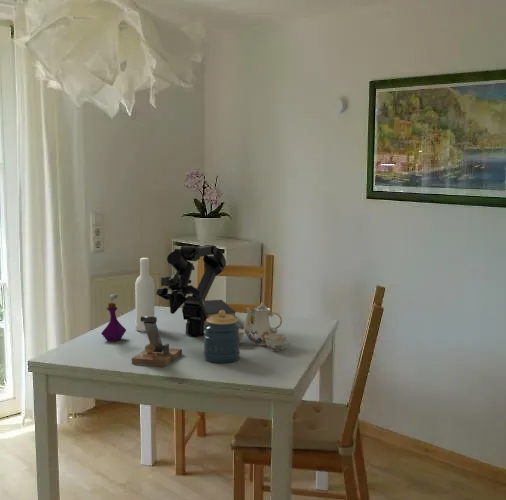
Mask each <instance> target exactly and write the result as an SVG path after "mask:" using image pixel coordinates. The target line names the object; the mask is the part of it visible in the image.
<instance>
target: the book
mask: <svg viewBox="0 0 506 500" xmlns="http://www.w3.org/2000/svg"><path fill="white" fill-rule="evenodd" d="M204 305H205V310H206V312H207V314H208V318H209V317H210V316H211V315H215V314H218V313H219V311H220V310H224V311H225V312H226V314H229V315H233V316H234V317H235V318H236V311H235V310H234V309H233V308H232V307H230V306H229V304H227V303H226V302H225V301H224V300H223V299H210V300H209V299H208V300H204ZM205 324H207V321H204V325H205Z"/></svg>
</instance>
